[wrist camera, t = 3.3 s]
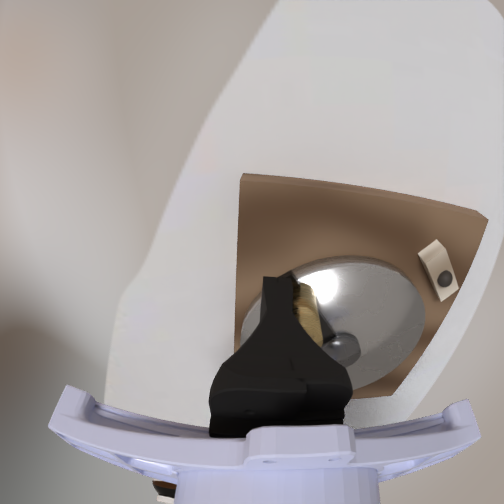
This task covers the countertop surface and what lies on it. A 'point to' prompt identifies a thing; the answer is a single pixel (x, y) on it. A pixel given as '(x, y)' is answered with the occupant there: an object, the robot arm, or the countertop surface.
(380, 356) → the cam dial
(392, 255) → the stand
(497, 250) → the countertop surface
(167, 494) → the spread jar
